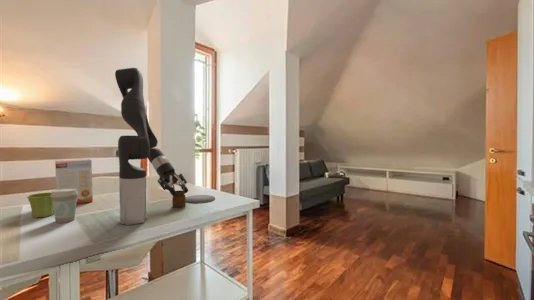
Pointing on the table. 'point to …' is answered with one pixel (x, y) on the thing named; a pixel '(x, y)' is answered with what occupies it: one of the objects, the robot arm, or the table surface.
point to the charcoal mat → (199, 198)
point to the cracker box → (75, 177)
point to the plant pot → (41, 204)
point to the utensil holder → (179, 198)
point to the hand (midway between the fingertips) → (181, 193)
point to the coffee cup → (64, 204)
